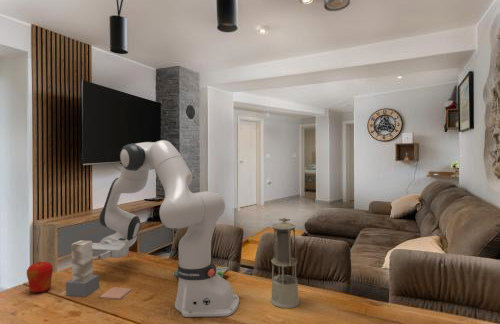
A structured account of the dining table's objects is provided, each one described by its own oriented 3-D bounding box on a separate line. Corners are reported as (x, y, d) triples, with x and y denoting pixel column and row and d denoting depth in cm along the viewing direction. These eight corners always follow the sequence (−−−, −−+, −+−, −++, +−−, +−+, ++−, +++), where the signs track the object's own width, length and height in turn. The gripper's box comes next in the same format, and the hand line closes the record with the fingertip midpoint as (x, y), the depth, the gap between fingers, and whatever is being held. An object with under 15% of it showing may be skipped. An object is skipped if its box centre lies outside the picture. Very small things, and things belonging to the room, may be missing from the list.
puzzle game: (188, 260, 142) (229, 265, 135) (188, 270, 142) (229, 276, 135) (173, 269, 131) (217, 276, 124) (173, 281, 131) (217, 287, 124)
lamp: (268, 307, 108) (268, 220, 107) (272, 290, 121) (272, 212, 120) (299, 309, 106) (299, 221, 105) (299, 292, 119) (299, 213, 118)
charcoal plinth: (99, 287, 125) (99, 275, 124) (85, 296, 117) (85, 283, 116) (81, 286, 126) (80, 273, 126) (66, 295, 118) (65, 282, 118)
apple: (23, 291, 122) (22, 261, 121) (48, 284, 128) (47, 255, 128) (32, 297, 116) (31, 266, 116) (57, 289, 123) (56, 259, 123)
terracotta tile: (131, 290, 122) (131, 288, 122) (119, 299, 114) (119, 298, 114) (113, 288, 123) (113, 287, 123) (99, 298, 116) (99, 296, 116)
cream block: (93, 276, 123) (92, 240, 123) (84, 281, 118) (83, 244, 118) (81, 275, 124) (80, 240, 123) (72, 280, 119) (71, 244, 119)
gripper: (89, 237, 140) (65, 247, 126) (131, 239, 136) (112, 249, 122) (89, 252, 140) (66, 263, 126) (131, 254, 136) (112, 265, 123)
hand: (89, 256), depth 124 cm, fingers open, 8 cm apart
